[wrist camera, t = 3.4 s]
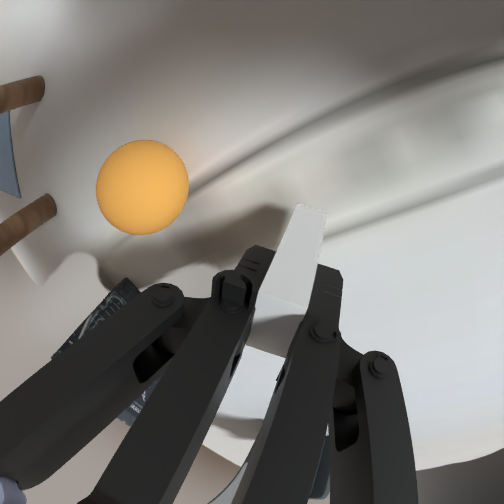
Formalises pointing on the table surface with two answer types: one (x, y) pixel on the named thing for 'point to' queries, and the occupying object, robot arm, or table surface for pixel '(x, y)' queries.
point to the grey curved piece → (318, 488)
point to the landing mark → (7, 158)
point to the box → (103, 310)
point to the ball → (142, 187)
